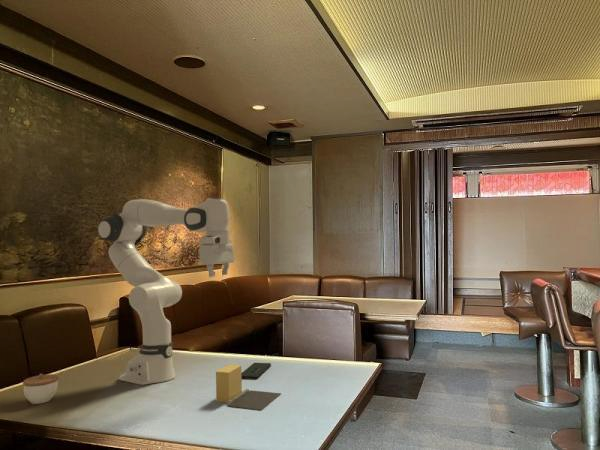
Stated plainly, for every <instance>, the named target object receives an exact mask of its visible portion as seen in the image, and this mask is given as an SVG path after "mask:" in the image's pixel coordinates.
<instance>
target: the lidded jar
mask: <svg viewBox="0 0 600 450" xmlns="http://www.w3.org/2000/svg"><path fill="white" fill-rule="evenodd" d="M22 385H23V394H24V397H25V399H26V400H27V401H29V402H30V404H32V405H39V404H43V403H47V402H50V401H51V400H52V398H53V397H54V396H55V395H56V393H57V391H58V385H59V375H57V374H54V373H53V374H49V373H47V374H43V373H39V375H34V376H30V377H28V378H25V379H24V380H23V381H22Z"/></svg>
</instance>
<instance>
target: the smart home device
mask: <svg viewBox="0 0 600 450" xmlns="http://www.w3.org/2000/svg"><path fill="white" fill-rule="evenodd" d="M271 367H272V363H271V362H253V363H251V364H250V365H249V366H248V367H247V368H245V370H243V371H241V376H242V380H259V379H260V377H262V376H263V375H262V374H265V373H266V372H267V371H268V370H269V369H270V368H271Z"/></svg>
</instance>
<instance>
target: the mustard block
mask: <svg viewBox="0 0 600 450" xmlns="http://www.w3.org/2000/svg"><path fill="white" fill-rule="evenodd" d="M241 373H242V365H239V364H237V365H236V364H228V365H226V366H224V367H221V368H220V369H218V370H216V371H215V391H216V392H215V394H216V395H215V396H216V399H215V400H216V402H219V403H220V402H221V403H227V402H228V401H229V400H231V399H232V398H234V397H235V396H237V395H238V394H240V393H241V392H242V391H243V390H242V388H243V386H242V384H243V383H242V380H243V379H242V376H241Z"/></svg>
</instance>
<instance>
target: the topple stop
mask: <svg viewBox="0 0 600 450" xmlns="http://www.w3.org/2000/svg"><path fill="white" fill-rule="evenodd" d="M281 395H282V393H280V392H279V393H278V392H273V391H272V392H270V391H261V390H260V391H259V390H250V389H249V388H245V389H244V390H242V392H241V393H240V394H238V395H237V396H235V397H234V398H232V399H231V400H229V401H228V402H226V406H228V407H231V408H236V409H245V410H246V409H247V410H252V411H253V410H255V411H263V410H264V409H265V408H266V407H268V406H269V405H270V404H271V403H273V402H274V401H275V400H276V399H277V398H278V397H279V396H281Z"/></svg>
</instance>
